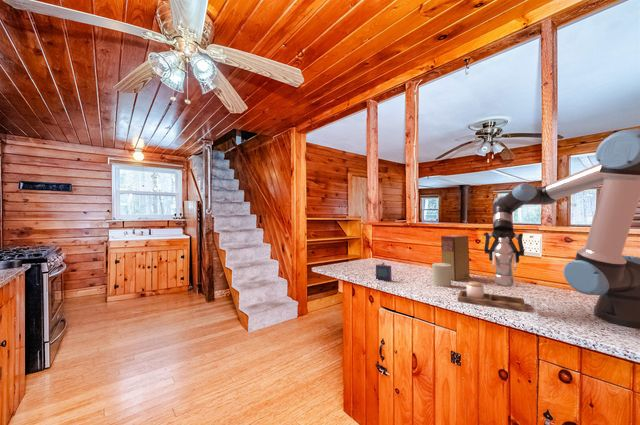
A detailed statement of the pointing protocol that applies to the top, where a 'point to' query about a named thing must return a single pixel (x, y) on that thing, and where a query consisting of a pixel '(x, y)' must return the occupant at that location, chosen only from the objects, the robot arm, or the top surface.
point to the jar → (475, 290)
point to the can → (441, 274)
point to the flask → (383, 272)
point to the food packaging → (456, 255)
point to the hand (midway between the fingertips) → (504, 267)
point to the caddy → (495, 301)
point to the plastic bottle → (504, 263)
